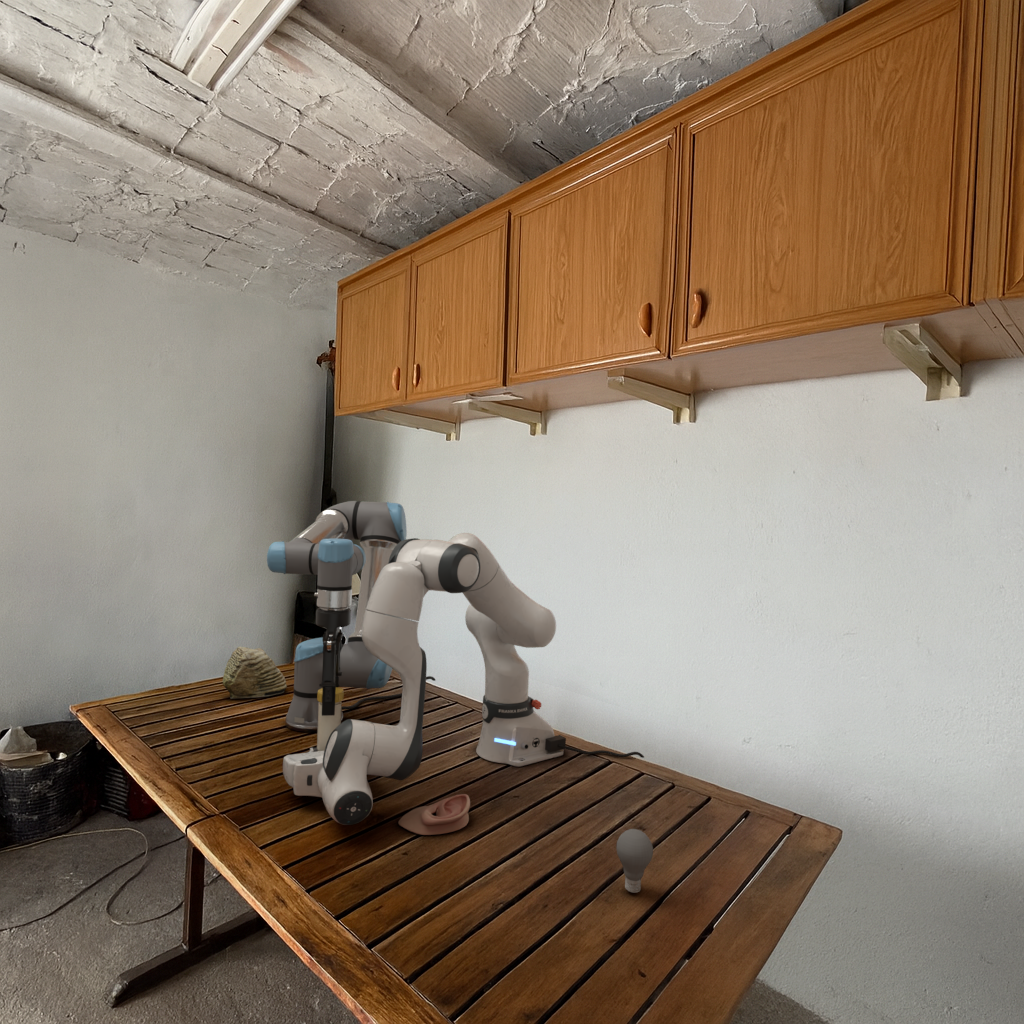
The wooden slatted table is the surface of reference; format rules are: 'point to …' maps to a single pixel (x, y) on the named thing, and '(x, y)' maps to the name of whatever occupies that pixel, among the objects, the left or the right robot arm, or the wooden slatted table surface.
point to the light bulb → (634, 857)
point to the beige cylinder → (327, 725)
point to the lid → (338, 695)
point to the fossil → (252, 674)
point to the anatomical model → (438, 816)
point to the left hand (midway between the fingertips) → (329, 709)
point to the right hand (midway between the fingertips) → (327, 749)
